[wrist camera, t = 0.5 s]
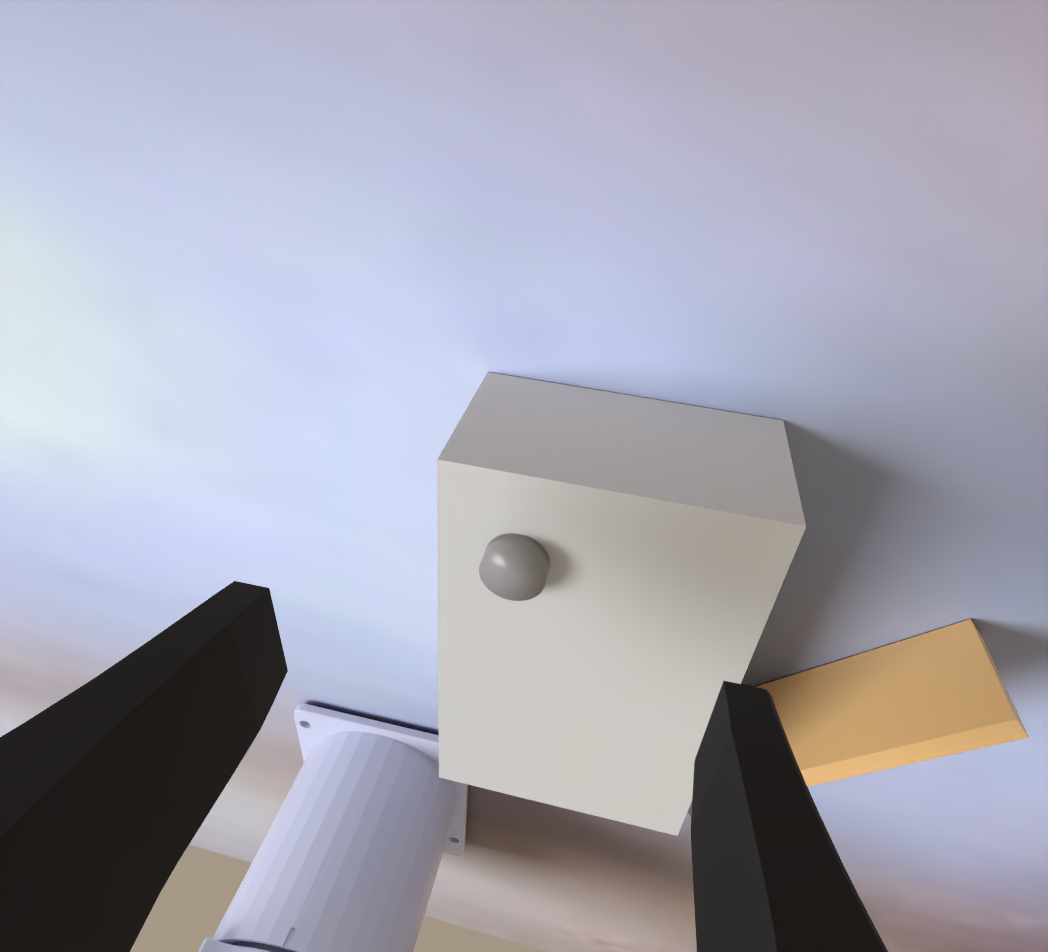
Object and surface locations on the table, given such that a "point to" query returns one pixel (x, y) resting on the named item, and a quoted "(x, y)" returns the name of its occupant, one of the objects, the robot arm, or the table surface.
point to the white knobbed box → (601, 589)
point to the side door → (896, 706)
